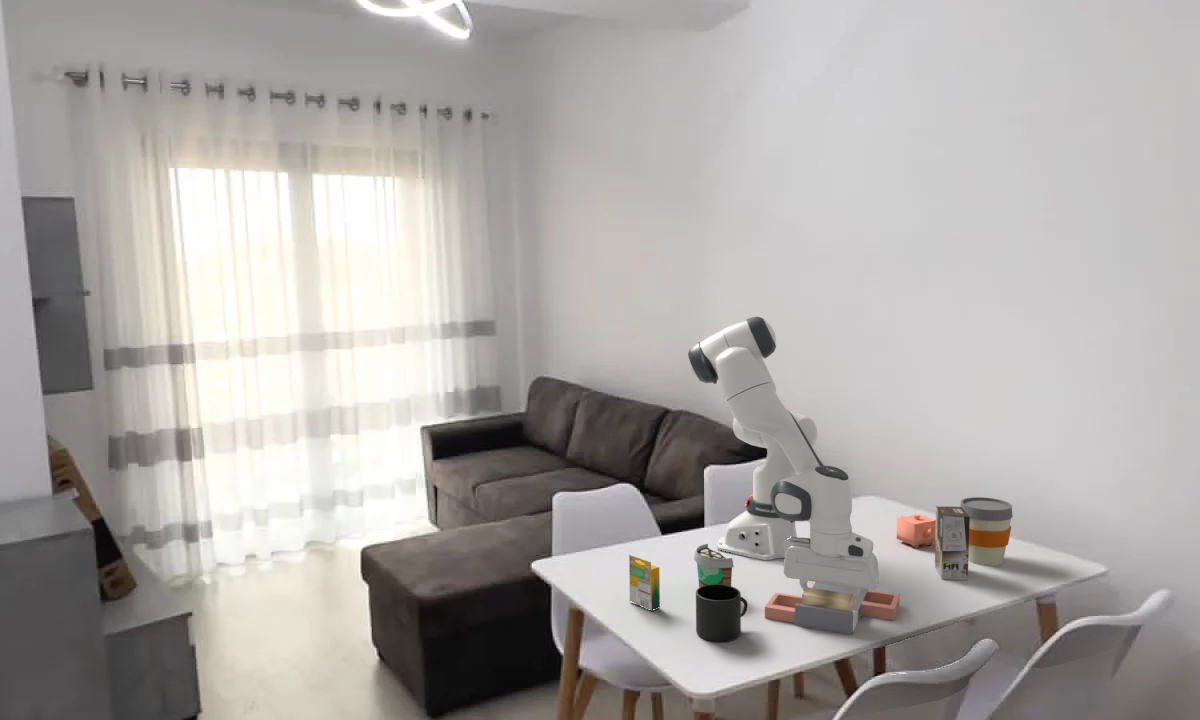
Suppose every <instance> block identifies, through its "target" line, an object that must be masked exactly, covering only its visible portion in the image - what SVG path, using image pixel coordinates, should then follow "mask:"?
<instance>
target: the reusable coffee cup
mask: <svg viewBox="0 0 1200 720" xmlns="http://www.w3.org/2000/svg"><path fill="white" fill-rule="evenodd" d="M959 507H962V508H963V509H964V510H965V511H966V513H967V514H968V515H969V516H970V528H969V555H968V562H970V563H972V562H973V564H976V565H980V564H981V566H988V565H990V566H991V565H994V566H999V565H1002V564H1003V563H1004V560H1005V559H1004V558H1005V553H1006V550H1007V549H1006V548H1007V547H1008V545H1009V541H1010V536H1011V532H1012V531H1011V530H1012V526H1011V520H1012V518H1013V515H1014V514H1013V505H1012V504H1011V503H1010V502H1008V501H1005V500H1002V499H997V498H994V497H993V498H992V497H982V496H981V497H980V496H975V497H974V496H973V497H966V498H962V499H961V500H960V506H959Z"/></svg>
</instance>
